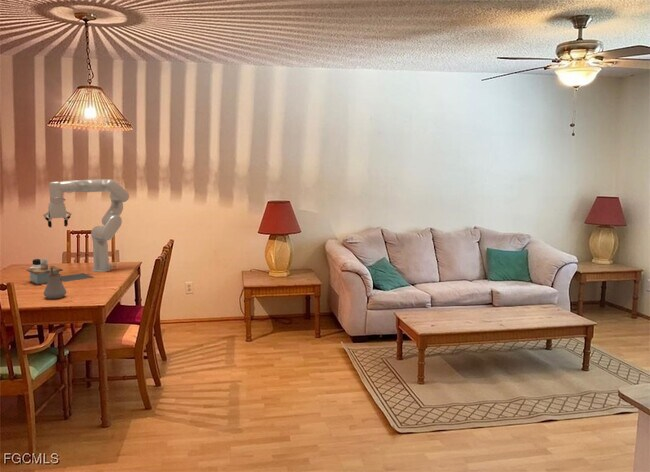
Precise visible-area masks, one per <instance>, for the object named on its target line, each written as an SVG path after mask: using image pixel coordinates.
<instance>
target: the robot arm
mask: <svg viewBox="0 0 650 472" xmlns="http://www.w3.org/2000/svg"><path fill="white" fill-rule="evenodd" d="M48 187H49V200H50V201H49V202H48V207H47V212H46V213H43V214H42V216H43V218H44V220H46V221H47V227H48V228H52V227H53V226H52V223H53V222H52V220H53V219H64V220H63V227H68V225H69V223H68V221H69V219H70V218H71V216H72V213H71V212H69V211H67V210H66V204H65V201H66V198H64V193H68V194H69V193H70V194H71V193H75V192H81V193H98V192H99V193H100V192H101V193H102V192H109V198H110V202H111V203H110V207H109V208H108V210H107V211H106V212H105V213H104V215H103V216H102V219H101V224H102V225H96V226H94V227H93V228H92V229H91V231H90V236H91V240H92V247H93V248H92V251H93V256H92V257H93V268H92V269H91V272H93V273H94V272H95V273H103V272H111V271H112V267H113V268H115V267H116V264H115V263H109V245H108V241H110V240H111V239H113V237H114V236H115V234H116V233H117V232H118V230H119V229H120V228H121V226H122V224H123V221H122V220H123V219H122V217H121V214H122V213H123V210H124V203H125V202H128V200H129V199H130V195H129V192H128V191H127V190H126V189H125V188H124V186H121V185H120V184H119V183H118V182H117V181H115V180H114V179H112V178H111V179H109V178H108V179H107V178H103V179H102V178H101V179H99V178H98V179H82V180H62V181H51V182H49V186H48Z"/></svg>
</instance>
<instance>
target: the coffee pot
mask: <svg viewBox="0 0 650 472" xmlns="http://www.w3.org/2000/svg"><path fill="white" fill-rule="evenodd" d="M50 268H51V274H50V275H48V277H49V281H48V283H46V287H45V288H44V291H43V295H44V297H46V298H47V299H49V300H58V299H62V298H63V297H64V296H65V295H66V294H67V290H66V288H65V286H64V284H63V283H62V282H63V281H62V280H60V276H62V274H61V273H59V274H54V273H53V269H54V268H53V267H50ZM50 268H49V269H50Z"/></svg>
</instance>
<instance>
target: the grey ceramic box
mask: <svg viewBox="0 0 650 472" xmlns="http://www.w3.org/2000/svg"><path fill="white" fill-rule="evenodd" d="M53 273H54V274H60V271H59V272H53ZM50 274H51V273H43V274H33V273H31V272H29V278H30V279H29V281H30V283H33V284H34V285H37V286H38V285H39V286H41V285H44V284H47V283H48V281H49V277H48V275H50Z"/></svg>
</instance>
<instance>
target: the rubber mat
mask: <svg viewBox="0 0 650 472" xmlns="http://www.w3.org/2000/svg"><path fill="white" fill-rule="evenodd" d="M93 278H96V277H95V276H92V275H89V274H86V273H75V274H66V275H61V276H60V280H61V282H71V281H78V280H79V281H80V280H86V279H87V280H88V279H93Z"/></svg>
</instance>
